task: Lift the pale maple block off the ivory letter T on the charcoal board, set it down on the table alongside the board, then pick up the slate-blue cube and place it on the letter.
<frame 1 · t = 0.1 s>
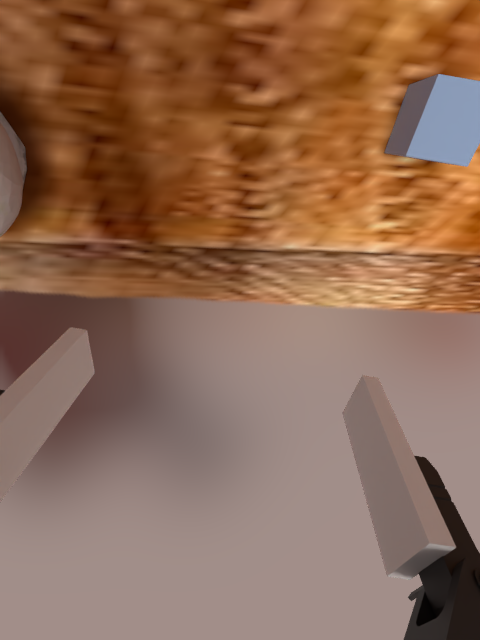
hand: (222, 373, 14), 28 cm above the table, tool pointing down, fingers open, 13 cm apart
blue cube: (423, 125, 30), on the table
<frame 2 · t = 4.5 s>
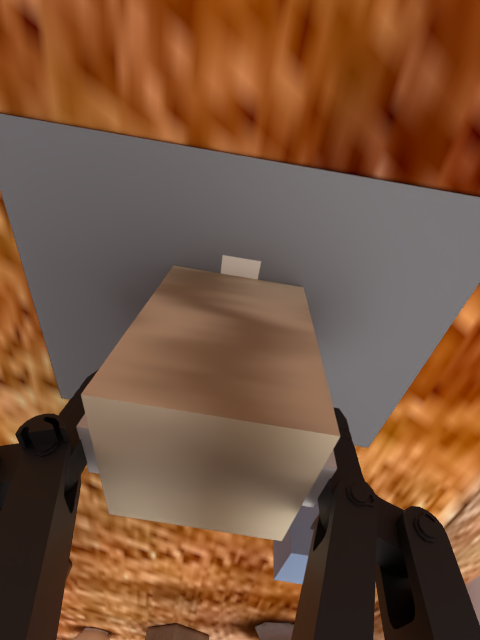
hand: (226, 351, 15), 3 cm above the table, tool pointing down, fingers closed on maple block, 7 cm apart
ceramic pitcher: (283, 627, 55), on the table
wooden block: (178, 629, 63), on the table
maple block: (230, 329, 17), resting on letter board, touching gripper
lidded jar: (96, 629, 70), on the table
blue cube: (309, 493, 27), on the table
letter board: (231, 325, 17), on the table
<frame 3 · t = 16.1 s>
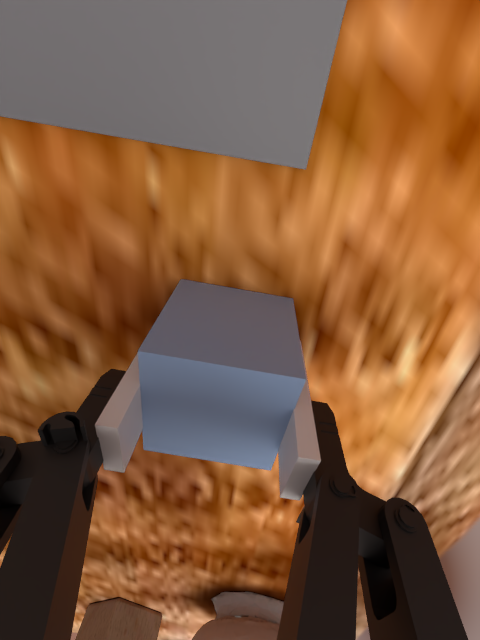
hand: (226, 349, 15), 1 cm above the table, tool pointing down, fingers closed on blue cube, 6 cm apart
ceramic pitcher: (246, 599, 44), on the table
wooden block: (126, 606, 52), on the table
blue cube: (229, 334, 17), on the table, touching gripper
when the fingers open (3 cm above the table, at t = 22.6 s): blue cube drops 1 cm, resting on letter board.
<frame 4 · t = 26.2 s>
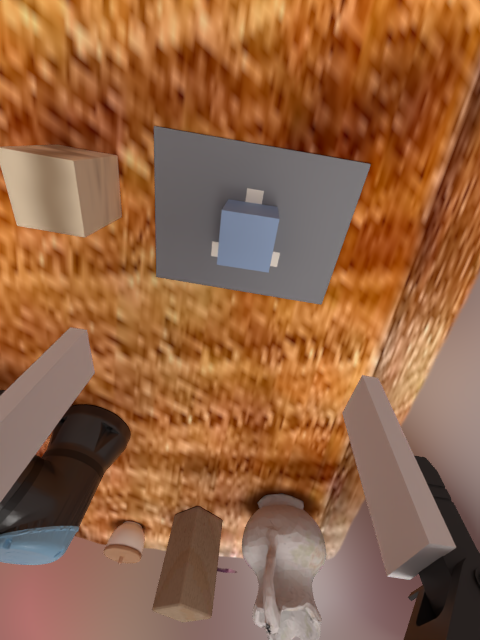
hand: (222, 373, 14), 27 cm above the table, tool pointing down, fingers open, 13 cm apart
ceramic pitcher: (279, 502, 74), on the table
wooden block: (199, 516, 82), on the table
maple block: (91, 182, 35), on the table
lidded jar: (132, 524, 89), on the table
blue cube: (249, 228, 36), resting on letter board
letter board: (249, 227, 36), on the table
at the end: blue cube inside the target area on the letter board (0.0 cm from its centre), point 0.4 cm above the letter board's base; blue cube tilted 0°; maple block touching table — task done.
